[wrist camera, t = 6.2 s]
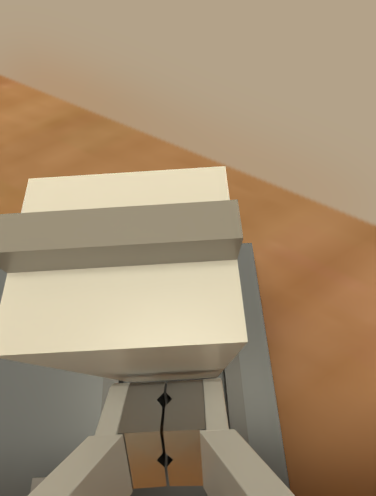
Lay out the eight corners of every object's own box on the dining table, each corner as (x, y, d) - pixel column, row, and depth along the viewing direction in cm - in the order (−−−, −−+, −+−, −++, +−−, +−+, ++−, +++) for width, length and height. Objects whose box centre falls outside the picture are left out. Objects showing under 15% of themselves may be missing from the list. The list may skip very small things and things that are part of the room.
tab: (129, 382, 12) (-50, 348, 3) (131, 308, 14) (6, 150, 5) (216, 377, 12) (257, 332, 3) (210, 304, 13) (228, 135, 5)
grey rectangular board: (-301, 583, 11) (-413, 624, 9) (-157, 279, 17) (-208, 263, 15) (291, 556, 11) (312, 594, 9) (247, 255, 16) (254, 235, 14)
